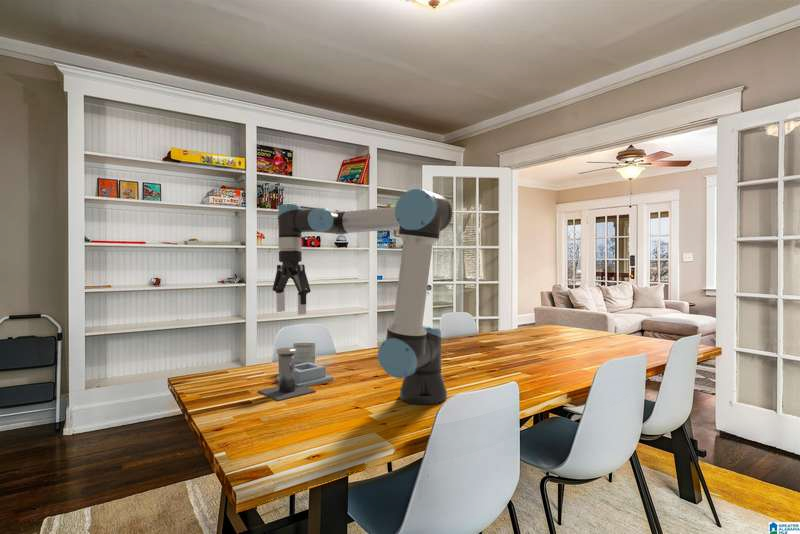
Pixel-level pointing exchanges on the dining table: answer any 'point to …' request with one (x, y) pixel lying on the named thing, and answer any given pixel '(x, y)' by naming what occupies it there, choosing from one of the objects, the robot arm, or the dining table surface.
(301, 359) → the ink box
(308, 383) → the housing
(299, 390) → the mat
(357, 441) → the dining table surface
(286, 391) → the grey capped cylinder
